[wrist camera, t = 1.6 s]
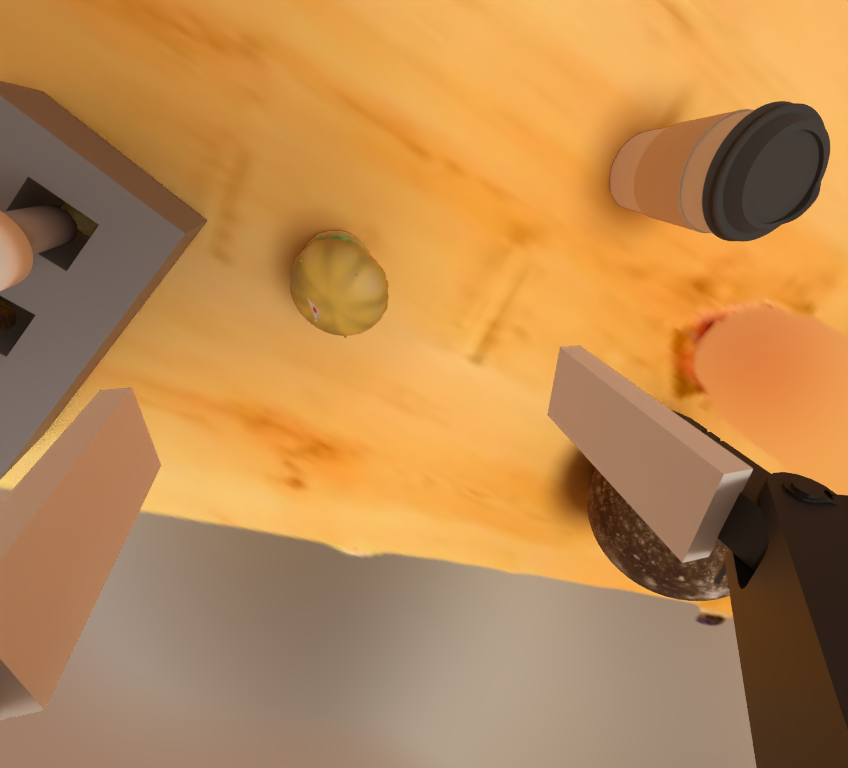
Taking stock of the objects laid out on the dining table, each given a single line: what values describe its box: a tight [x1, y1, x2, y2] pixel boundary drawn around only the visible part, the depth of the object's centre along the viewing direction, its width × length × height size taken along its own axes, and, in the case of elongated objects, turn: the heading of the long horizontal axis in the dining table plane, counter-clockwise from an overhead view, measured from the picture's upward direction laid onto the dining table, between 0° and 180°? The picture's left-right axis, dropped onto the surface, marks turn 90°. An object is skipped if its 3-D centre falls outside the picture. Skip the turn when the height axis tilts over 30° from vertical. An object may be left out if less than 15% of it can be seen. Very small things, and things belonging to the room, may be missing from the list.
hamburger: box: [290, 230, 388, 338], centre depth 33 cm, size 8×7×12 cm
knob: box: [0, 205, 77, 291], centre depth 23 cm, size 4×4×10 cm
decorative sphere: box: [587, 469, 730, 601], centre depth 52 cm, size 20×20×20 cm
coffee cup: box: [610, 101, 830, 241], centre depth 34 cm, size 9×9×15 cm
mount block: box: [0, 81, 207, 479], centre depth 31 cm, size 12×26×7 cm, turn 135°
